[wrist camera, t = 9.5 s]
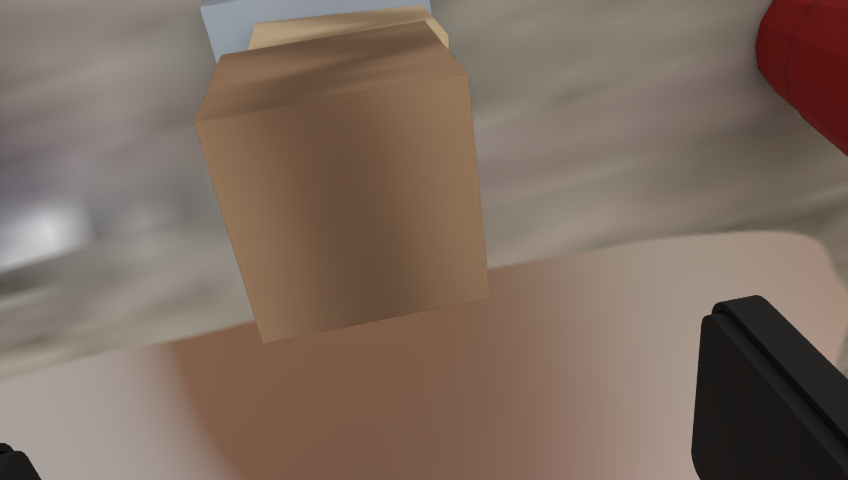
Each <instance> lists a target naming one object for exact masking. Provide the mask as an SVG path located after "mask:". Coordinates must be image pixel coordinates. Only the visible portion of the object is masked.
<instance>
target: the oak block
mask: <svg viewBox="0 0 848 480" xmlns="http://www.w3.org/2000/svg"><path fill="white" fill-rule="evenodd" d="M423 20H425V21H426V23H427V24H428V25H429V26H430V28H431V29H432V30H433V31H434V33H435V34H436V35H437V36H438V38H439V39H440V40H441V41H442V43H443V44H444V45H445V46H446V48H447V49H448V50H449V45H448V34H447V33H446V32H445V31H444V29H443V28H442V27H441V26H440V25H439V24H438V23H437V21H436V20H435V19H434V18H433V17H432V16H431V14H430V13H429V12H428V11H427V10H426V9H425V8H424V6H423V5H414V6H405V7H396V8H387V9H378V10H369V11H360V12H351V13H342V14H332V15H323V16H314V17H305V18H296V19H287V20H278V21H269V22H260V23H255V25H254V29H253V33H252V36H251V40H250V44H249V47H248V50H252V49H258V48H264V47H270V46H276V45H282V44H288V43H294V42H299V41H305V40H311V39H317V38H323V37H329V36H335V35H341V34H347V33H352V32H358V31H364V30H370V29H376V28H382V27H388V26H394V25H399V24H405V23H411V22H417V21H423Z"/></svg>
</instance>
